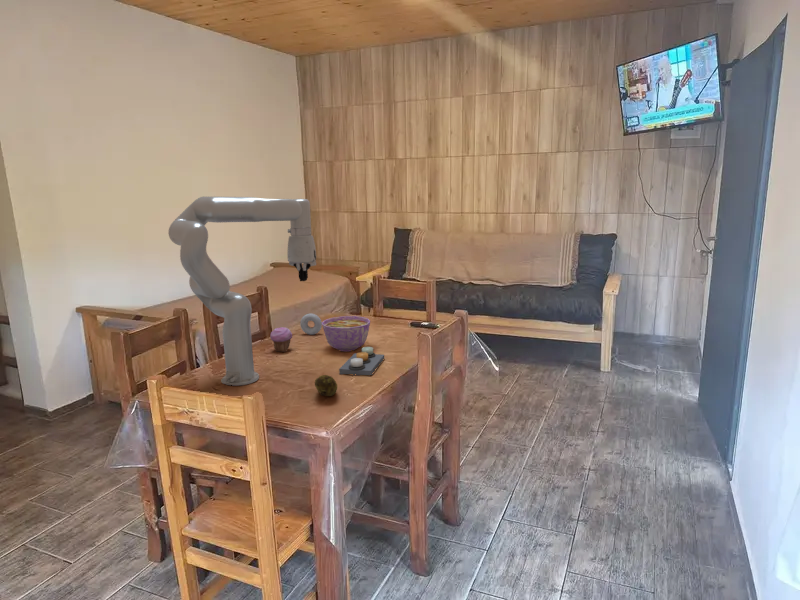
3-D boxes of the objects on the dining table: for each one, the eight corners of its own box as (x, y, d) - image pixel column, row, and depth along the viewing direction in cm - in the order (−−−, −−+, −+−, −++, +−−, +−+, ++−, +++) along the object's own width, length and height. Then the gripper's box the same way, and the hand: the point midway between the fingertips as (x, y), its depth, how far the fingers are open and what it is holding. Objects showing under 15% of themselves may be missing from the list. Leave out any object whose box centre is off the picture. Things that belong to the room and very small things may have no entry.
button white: (360, 367, 202) (360, 362, 201) (349, 366, 203) (349, 361, 202) (364, 363, 206) (364, 358, 206) (352, 362, 207) (352, 357, 207)
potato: (344, 389, 190) (343, 366, 188) (334, 404, 177) (333, 380, 176) (320, 388, 191) (319, 365, 189) (308, 403, 178) (307, 379, 177)
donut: (299, 335, 256) (298, 314, 254) (301, 333, 259) (300, 312, 257) (321, 335, 255) (320, 314, 253) (323, 333, 258) (322, 312, 256)
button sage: (371, 355, 215) (371, 350, 215) (360, 354, 216) (360, 349, 216) (374, 351, 219) (374, 347, 219) (363, 351, 220) (363, 346, 220)
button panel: (370, 376, 201) (370, 369, 200) (338, 374, 204) (338, 367, 203) (384, 359, 220) (384, 352, 219) (355, 357, 223) (355, 351, 222)
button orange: (366, 361, 209) (366, 356, 208) (355, 360, 210) (354, 355, 209) (369, 357, 213) (369, 352, 212) (358, 356, 214) (358, 351, 213)
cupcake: (267, 353, 231) (266, 329, 229) (277, 347, 239) (275, 324, 237) (287, 354, 229) (286, 330, 227) (296, 348, 237) (295, 325, 235)
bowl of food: (377, 352, 229) (376, 324, 227) (330, 358, 222) (328, 330, 220) (362, 339, 247) (361, 314, 245) (318, 345, 240) (316, 319, 238)
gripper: (278, 233, 208) (281, 281, 212) (316, 233, 205) (318, 283, 209) (286, 231, 216) (289, 278, 219) (323, 231, 212) (325, 279, 216)
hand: (303, 280), depth 214 cm, fingers closed
